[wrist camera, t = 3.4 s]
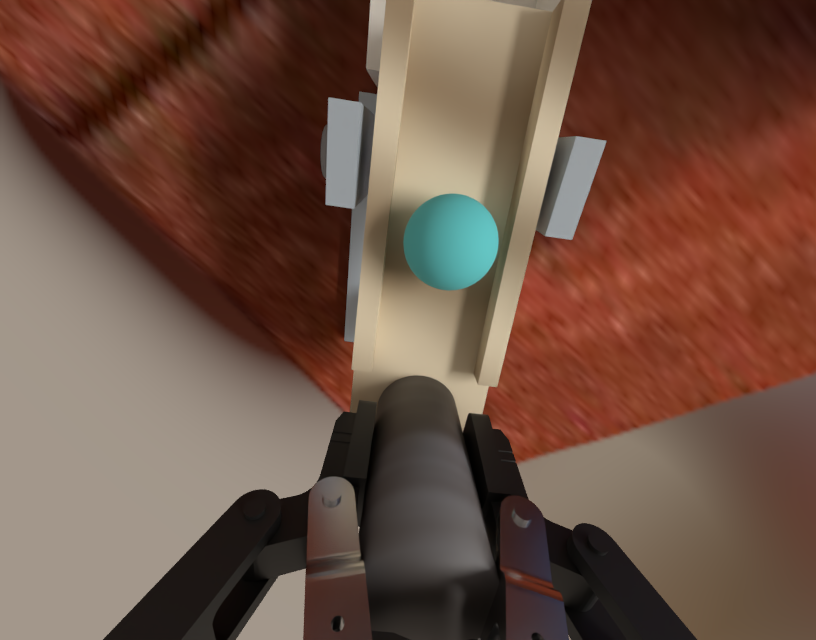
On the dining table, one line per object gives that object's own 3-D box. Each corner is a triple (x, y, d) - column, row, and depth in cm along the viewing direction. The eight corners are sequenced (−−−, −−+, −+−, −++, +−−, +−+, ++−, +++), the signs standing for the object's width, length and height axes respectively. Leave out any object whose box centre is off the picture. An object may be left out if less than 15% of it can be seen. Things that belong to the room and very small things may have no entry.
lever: (389, 4, 12) (344, -558, 3) (563, 34, 12) (963, -403, 3) (349, 420, 17) (291, 642, 8) (470, 434, 17) (535, 663, 9)
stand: (359, 93, 18) (315, 46, 10) (537, 121, 19) (634, 98, 10) (345, 336, 25) (311, 429, 17) (476, 352, 25) (506, 450, 17)
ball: (397, 287, 13) (407, 205, 13) (478, 298, 13) (488, 216, 13) (398, 278, 10) (412, 169, 10) (505, 293, 10) (519, 185, 10)
